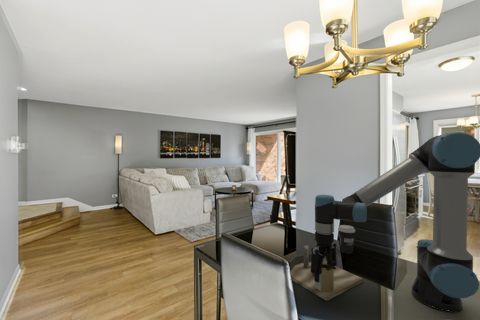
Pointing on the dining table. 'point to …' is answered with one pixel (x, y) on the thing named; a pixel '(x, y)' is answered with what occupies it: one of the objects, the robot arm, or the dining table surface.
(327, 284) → the tan piece
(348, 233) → the coffee cup
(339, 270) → the carrier
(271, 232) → the dining table surface
